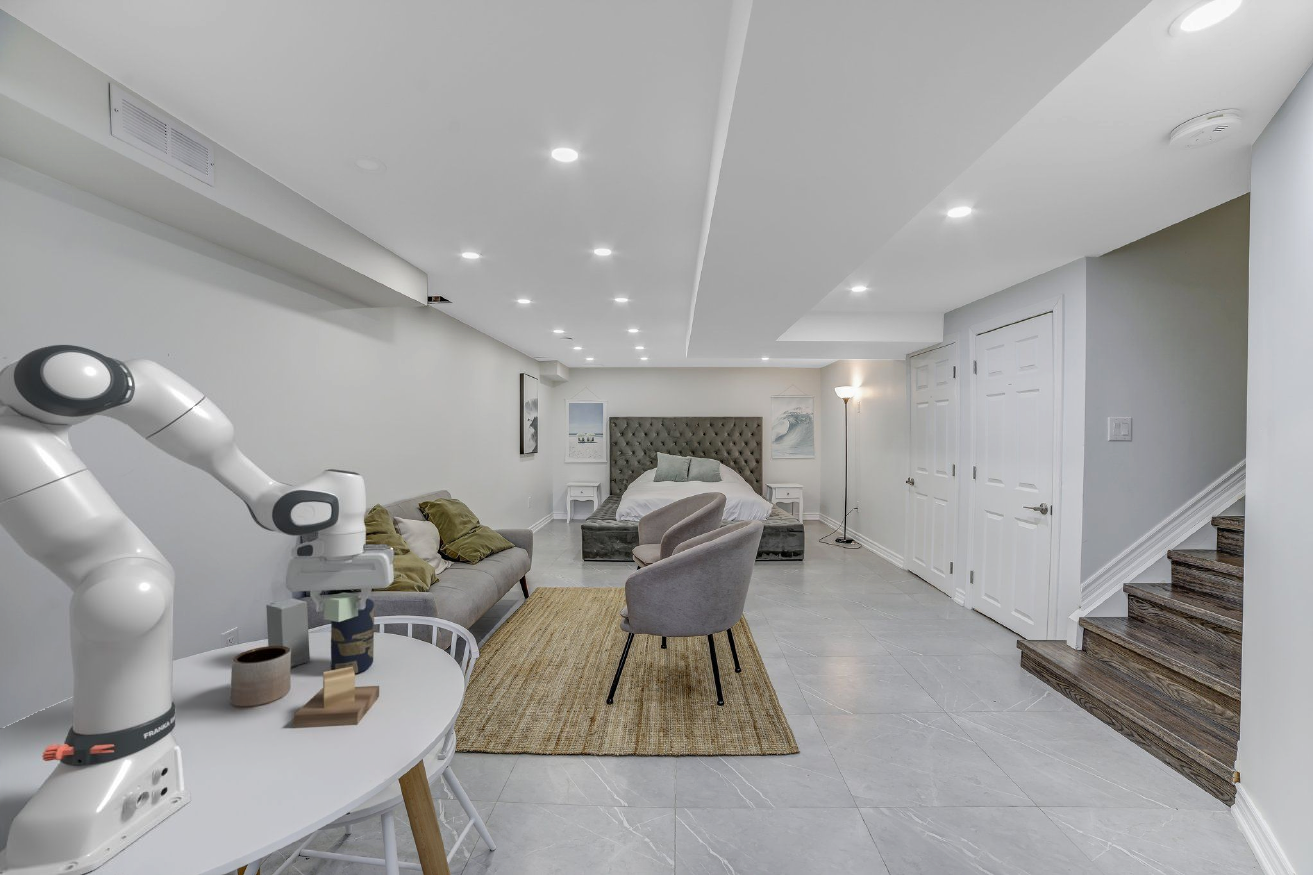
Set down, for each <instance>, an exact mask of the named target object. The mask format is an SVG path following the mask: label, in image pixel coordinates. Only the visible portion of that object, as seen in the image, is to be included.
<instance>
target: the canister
mask: <svg viewBox="0 0 1313 875" xmlns="http://www.w3.org/2000/svg"><path fill="white" fill-rule="evenodd" d="M361 599H362V597H361V598H360V597H358V600H361ZM330 623H331V624H330V628H331V630H330V632H331V633H330V634H331V636H330V657H331V658H330V671H332V670H337V669H342V668H348V667H353V669H354V673H355V674H358V673H361V672H363V671H366V670H367V669H369V668H371V667H372V665H373V663H374V646H375V645H374V641H375V640H374V638H375V637H374V634H375V603H374V601H373V600H372V599H370V598H367V599H366V606H365V608H364V609H363V610H358V616H356V617H353V618H349V619H346V620H343V621H340V622H336V621H331V620H330Z"/></svg>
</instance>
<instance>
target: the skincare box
mask: <svg viewBox="0 0 1313 875" xmlns="http://www.w3.org/2000/svg"><path fill="white" fill-rule="evenodd" d="M265 608H266V625H267V626H266V627H267V645H268V646H286V647H289V648H290V649H291V668H293V667H295V666H299V665H302V664H307V663H309V662H310V660H311V658H310V657H311V654H310V640H309V639H310V635H309V618H308V615H309V614H308V602H307V601H304V600H300V599H298V598H294V597H291V598H288V599H284V600H279V601H276V602H271V603H267V604H266V606H265Z"/></svg>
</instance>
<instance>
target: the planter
mask: <svg viewBox="0 0 1313 875" xmlns="http://www.w3.org/2000/svg"><path fill="white" fill-rule="evenodd" d="M291 668H292V667H291V649H290V648H289V647H286V646H267V645H266V646H260V647H256V648H252V649H249V650H246V651H243V652H240V653H238V654H236V655H235V656H234V657H232V659H231V674H230V675H231V678H230V697H229V699H230V703H231V704H232V705H233V706H236V707H239V708H253V707H261V706H265V705H268V704H272V703H274V702H276V701H279V700H280V699H282V698H284V697H285V696H286V695H287V694H288V693H289V692H290V690H291V682H292V681H291V677H292V676H291V674H292V673H291Z"/></svg>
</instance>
